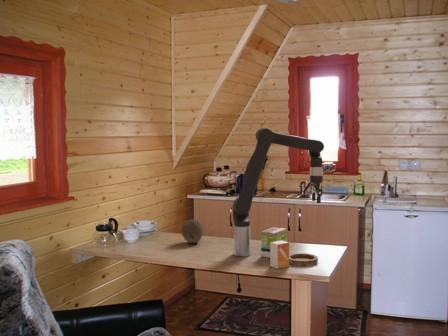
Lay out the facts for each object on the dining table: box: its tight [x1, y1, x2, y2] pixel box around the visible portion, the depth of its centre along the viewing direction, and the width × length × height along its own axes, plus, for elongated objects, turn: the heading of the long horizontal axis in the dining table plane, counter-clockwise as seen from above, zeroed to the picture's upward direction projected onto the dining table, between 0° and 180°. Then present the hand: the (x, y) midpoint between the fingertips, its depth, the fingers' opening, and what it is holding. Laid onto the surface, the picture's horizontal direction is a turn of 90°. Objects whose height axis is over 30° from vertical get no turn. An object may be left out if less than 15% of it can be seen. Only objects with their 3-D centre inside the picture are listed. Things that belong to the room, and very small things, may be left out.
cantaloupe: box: [181, 219, 204, 244], centre depth 315 cm, size 14×14×15 cm
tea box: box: [260, 226, 288, 259], centre depth 283 cm, size 15×10×15 cm, turn 148°
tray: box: [289, 252, 319, 267], centre depth 268 cm, size 16×16×3 cm
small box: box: [269, 240, 290, 270], centre depth 260 cm, size 8×6×13 cm
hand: (316, 201), depth 289 cm, fingers open, 8 cm apart
